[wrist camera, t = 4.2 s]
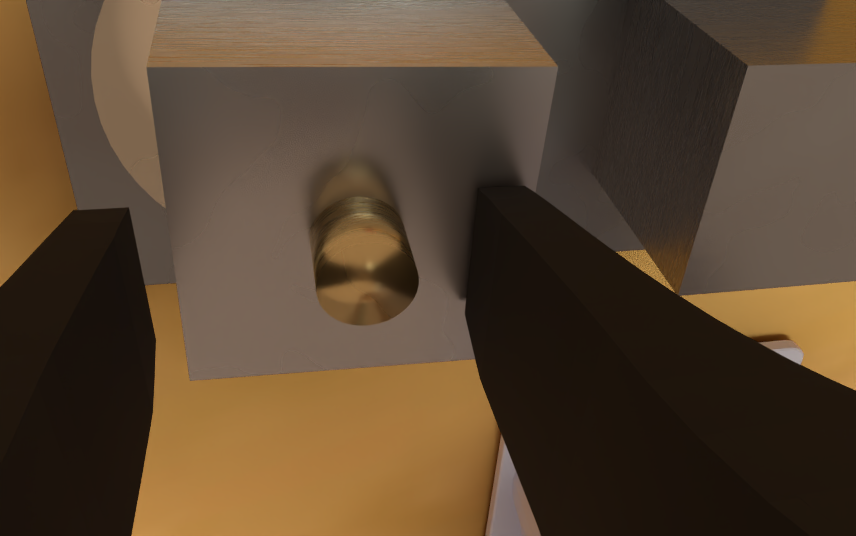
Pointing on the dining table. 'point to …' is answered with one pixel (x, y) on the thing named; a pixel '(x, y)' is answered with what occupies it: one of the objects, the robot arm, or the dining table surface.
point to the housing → (336, 172)
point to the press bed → (572, 130)
